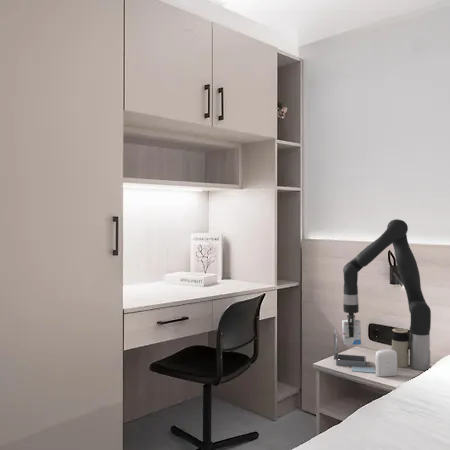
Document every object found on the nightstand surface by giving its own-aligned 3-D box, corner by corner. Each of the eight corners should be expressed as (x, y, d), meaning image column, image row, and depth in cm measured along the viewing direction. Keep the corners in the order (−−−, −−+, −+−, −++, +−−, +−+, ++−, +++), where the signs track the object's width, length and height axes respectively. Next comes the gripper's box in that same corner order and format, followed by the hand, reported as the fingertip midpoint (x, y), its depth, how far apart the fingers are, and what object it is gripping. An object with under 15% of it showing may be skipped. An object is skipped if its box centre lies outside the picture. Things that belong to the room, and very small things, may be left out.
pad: (374, 368, 236) (374, 367, 236) (375, 373, 230) (375, 372, 230) (351, 366, 239) (351, 366, 239) (351, 371, 233) (351, 370, 233)
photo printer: (377, 377, 224) (377, 351, 224) (374, 374, 228) (374, 348, 228) (398, 376, 225) (398, 350, 225) (394, 373, 229) (394, 347, 229)
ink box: (359, 342, 246) (358, 319, 246) (361, 344, 241) (360, 321, 241) (342, 342, 247) (341, 319, 247) (343, 344, 242) (343, 321, 242)
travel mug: (389, 365, 241) (389, 330, 240) (396, 361, 247) (396, 327, 246) (404, 369, 235) (404, 333, 235) (411, 365, 241) (411, 330, 240)
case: (365, 360, 249) (365, 330, 248) (365, 367, 238) (365, 335, 237) (334, 358, 253) (334, 328, 252) (333, 365, 242) (333, 333, 242)
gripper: (358, 305, 236) (359, 339, 236) (358, 300, 250) (359, 332, 250) (342, 305, 238) (343, 339, 238) (343, 300, 252) (344, 331, 252)
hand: (351, 335), depth 244 cm, fingers closed on ink box, 5 cm apart
